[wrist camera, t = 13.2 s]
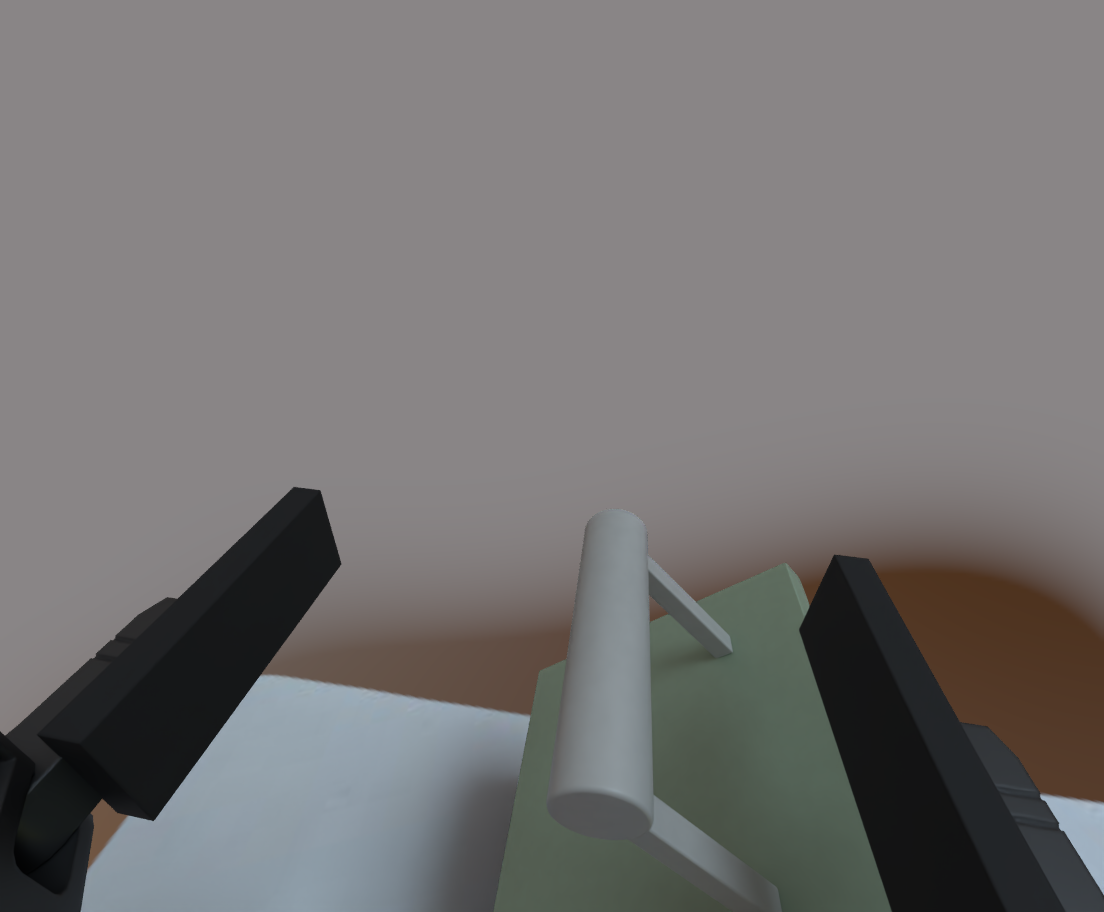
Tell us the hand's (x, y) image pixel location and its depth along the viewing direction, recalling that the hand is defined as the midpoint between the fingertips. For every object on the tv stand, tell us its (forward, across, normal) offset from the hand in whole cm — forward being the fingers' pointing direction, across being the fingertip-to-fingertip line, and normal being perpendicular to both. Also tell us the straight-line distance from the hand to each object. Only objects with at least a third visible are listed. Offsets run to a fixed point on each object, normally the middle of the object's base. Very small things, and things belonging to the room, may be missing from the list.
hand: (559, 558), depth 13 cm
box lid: (-1, +4, -9) cm, 10 cm away
